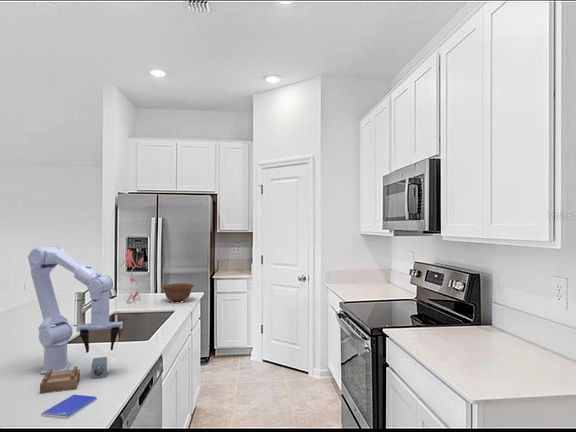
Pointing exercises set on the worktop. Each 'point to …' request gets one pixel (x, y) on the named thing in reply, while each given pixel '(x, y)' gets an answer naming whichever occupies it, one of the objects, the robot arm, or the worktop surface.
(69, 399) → the hard drive
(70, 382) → the stand
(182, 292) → the bowl
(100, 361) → the housing
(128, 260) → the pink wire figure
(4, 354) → the worktop surface
